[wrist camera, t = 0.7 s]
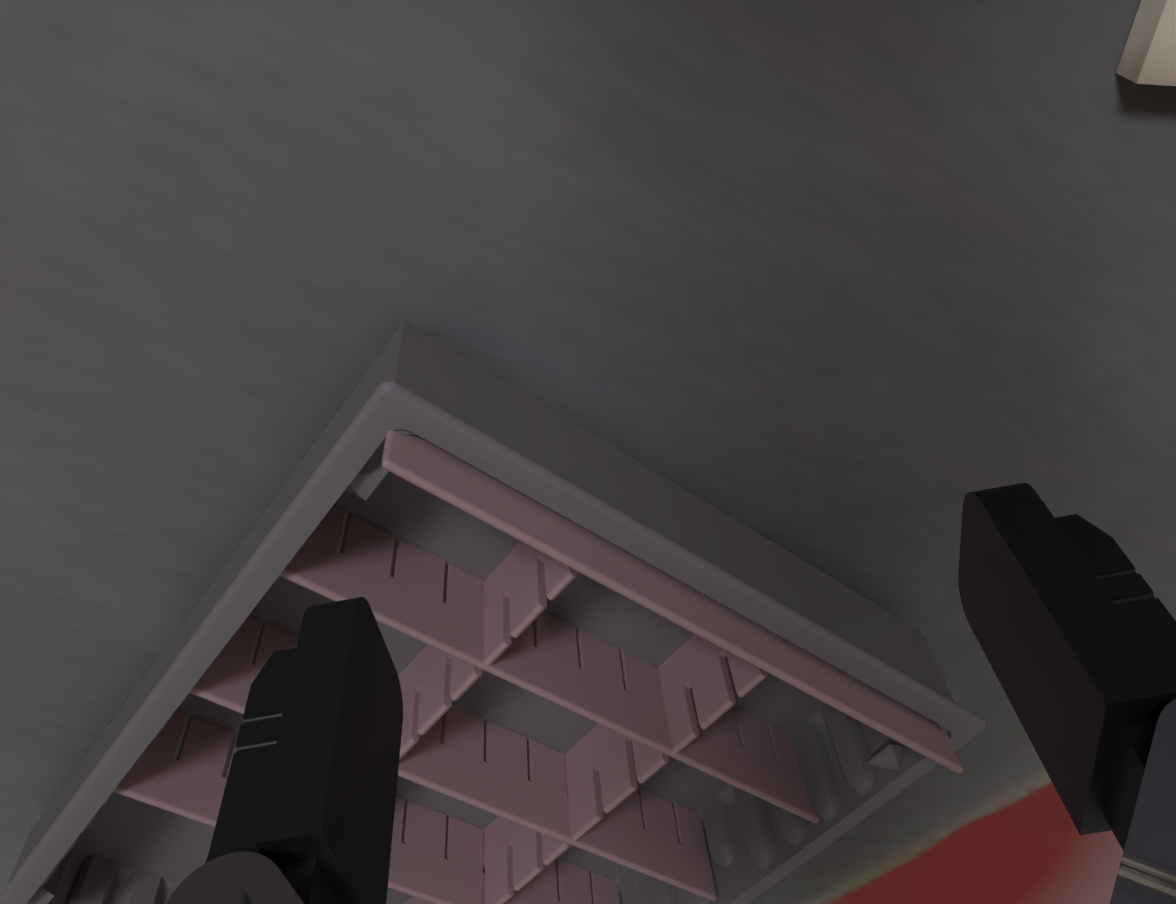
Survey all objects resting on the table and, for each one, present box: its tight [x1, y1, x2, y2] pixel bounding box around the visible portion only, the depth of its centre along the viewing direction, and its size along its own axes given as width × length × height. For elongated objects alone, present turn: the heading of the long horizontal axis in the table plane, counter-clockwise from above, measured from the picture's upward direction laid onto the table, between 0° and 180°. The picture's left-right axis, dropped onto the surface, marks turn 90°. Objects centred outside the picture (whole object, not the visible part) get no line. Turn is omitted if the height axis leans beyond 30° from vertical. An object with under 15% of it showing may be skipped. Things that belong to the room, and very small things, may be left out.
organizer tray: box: [0, 320, 987, 904], centre depth 51 cm, size 32×40×10 cm
